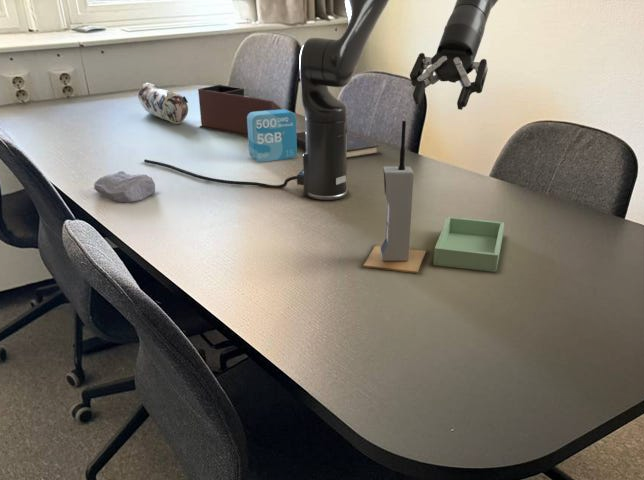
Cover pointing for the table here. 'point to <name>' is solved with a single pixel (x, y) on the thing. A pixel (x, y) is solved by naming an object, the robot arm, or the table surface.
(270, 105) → the desk organizer
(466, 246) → the tray
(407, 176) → the vintage mobile phone
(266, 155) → the data package
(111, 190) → the stone block
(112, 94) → the table surface
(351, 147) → the hardcover book
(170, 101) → the pencil case
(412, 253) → the cork pad
